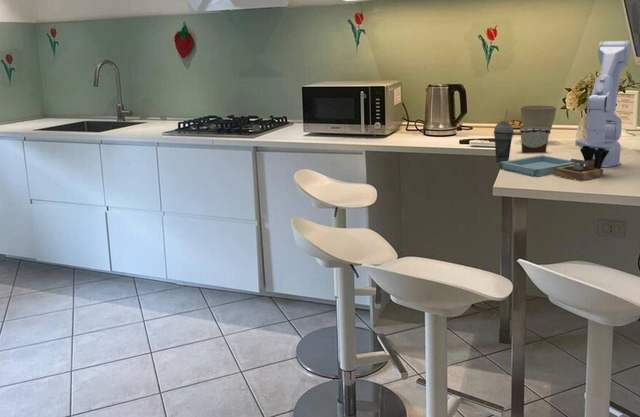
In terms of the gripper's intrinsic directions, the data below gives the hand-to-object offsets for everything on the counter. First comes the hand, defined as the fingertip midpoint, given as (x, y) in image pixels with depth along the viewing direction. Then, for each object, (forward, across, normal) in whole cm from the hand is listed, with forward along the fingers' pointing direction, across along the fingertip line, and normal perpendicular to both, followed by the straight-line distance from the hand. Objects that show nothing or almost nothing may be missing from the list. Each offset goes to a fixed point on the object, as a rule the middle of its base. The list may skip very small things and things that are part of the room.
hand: (592, 169), depth 219 cm
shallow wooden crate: (+1, 0, -5) cm, 6 cm away
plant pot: (+2, -55, +34) cm, 64 cm away
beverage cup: (+2, -33, -10) cm, 34 cm away
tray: (+1, -16, -8) cm, 18 cm away
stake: (+1, 0, -8) cm, 8 cm away
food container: (+2, -41, +16) cm, 44 cm away
